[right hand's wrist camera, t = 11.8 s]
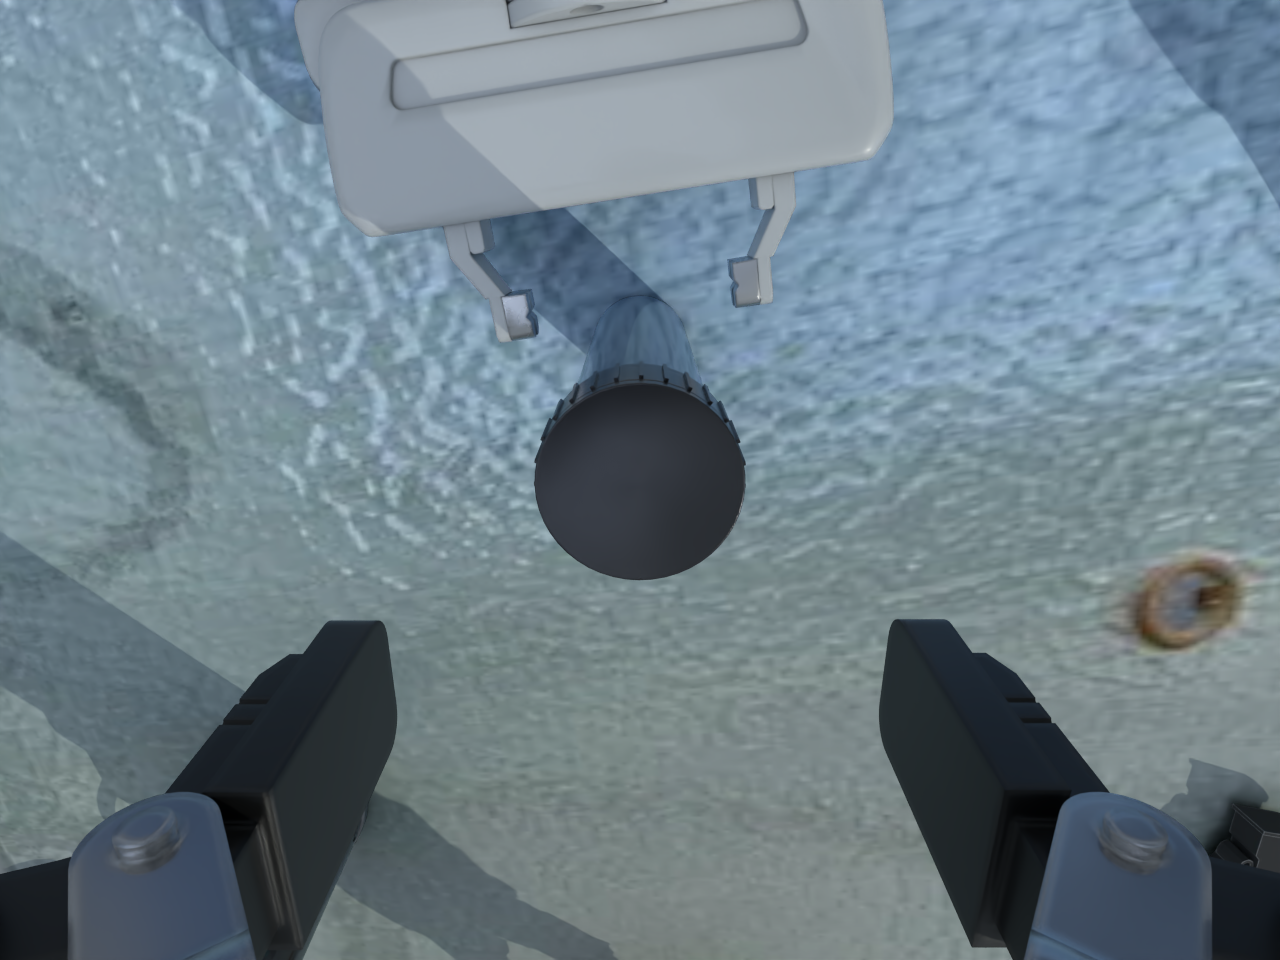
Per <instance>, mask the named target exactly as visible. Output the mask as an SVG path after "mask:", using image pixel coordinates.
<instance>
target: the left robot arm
mask: <svg viewBox="0 0 1280 960" xmlns="http://www.w3.org/2000/svg"><path fill="white" fill-rule="evenodd" d="M294 20H295V27H296V31H297V35H298V39H299V42H300V46H301V50H302V54H303V58H304V61H305V65H306V69H307V71H308V73H309V76H310V78H311V80H312V82H313V83H314V85H315V86H316V88H317V89H318V90H319V91H320V97H321V106H322V115H323V123H324V131H325V138H326V145H327V151H328V157H329V162H330V168H331V173H332V178H333V183H334V188H335V192H336V197H337V201H338V204H339V207H340V210H341V212H342V214H343V215H344V216H345V218H347V219H348V220H349V221H350V222H351V223H352V224H353V225H354V226H355V227H357V228H358V229H359V230H360V231H361V232H362V233H364V234H365V235H366V236H369V237H379V236H387V235H393V234H400V233H406V232H412V231H419V230H425V229H432V228H438V227H443V228H444V232H445V237H446V241H447V246H448V250H449V255H450V259H451V260H452V261H453V262H454V263H455V264H456V265H457V267H458V268H459V269H460V270H461V271H462V272H463V274H464V275H465V276H466V277H467V278H468V279H469V281H470V282H471V283H472V284H473V285H474V286H475V288H476V289H477V290H478V291H479V292H480V293H481V294H482V296H483V297H484V298H485V299H489V302H490V307H491V312H492V316H493V321H494V326H495V330H496V335H497V338H498V340H499V342H500V343H502V342H510V341H516V340H522V339H528V338H534V337H536V335H537V334H538V333H539V326H538V319H537V316H536V315H535V314H534V312H533V311H532V310H533V308H534V305H535V304H534V298H533V293H532V289H527V290H519V291H512V290H511V288H510V287H509V286H508V285H507V283H506V282H505V281H504V280H503V278H502V277H501V276H500V275H499V273H498V272H497V271H496V270H495V268H494V267H493V266H492V265H491V263H490V262H489V261H488V260H487V258H486V257H485V256H484V255H483V252H486V251H489V250H492V249H493V248H494V247H495V243H494V238H493V233H492V228H491V223H490V219H493V218H499V217H506V216H512V215H518V214H525V213H531V212H538V211H544V210H551V209H557V208H563V207H570V206H576V205H583V204H589V203H595V202H602V201H608V200H615V199H621V198H628V197H634V196H640V195H647V194H653V193H660V192H666V191H673V190H679V189H685V188H692V187H698V186H705V185H711V184H718V183H724V182H730V181H737V180H743V179H748V180H749V189H750V199H751V207H752V208H754V209H759V210H765V209H766V210H765V213H764V215H763V218H762V220H761V222H760V225H759V227H758V230H757V232H756V234H755V237H754V239H753V242H752V244H751V246H750V249H749V251H748V254H747V255H748V256H745V257H739V258H733V259H727V261H728V271H729V276H730V278H731V279H732V280H733V283H732V285H731V287H730V290H731V298H732V303H733V305H734V306H735V308H738V307H746V306H754V305H760V304H768V303H772V301H773V287H772V275H771V263H770V257H771V256H773V255H774V253H775V251H776V249H777V247H778V244H779V242H780V240H781V238H782V235H783V233H784V231H785V229H786V227H787V224H788V222H789V220H790V218H791V216H792V213H793V211H794V209H795V207H796V198H795V183H794V172H798V171H805V170H811V169H817V168H824V167H830V166H837V165H843V164H849V163H856V162H862V161H866V160H869V159H871V158H873V157H874V156H875V155H876V153H877V152H878V150H879V149H880V147H881V146H882V144H883V143H884V141H885V140H886V138H887V136H888V134H889V133H890V131H891V128H892V125H893V118H894V103H893V82H892V69H891V58H890V49H889V40H888V32H887V25H886V17H885V11H884V6H883V0H298V1H297V3H296V5H295V10H294Z"/></svg>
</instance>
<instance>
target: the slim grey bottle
mask: <svg viewBox="0 0 1280 960" xmlns="http://www.w3.org/2000/svg"><path fill="white" fill-rule="evenodd" d="M639 361H643V364H655V365H659V366H662V365H663V364H667V367H668V368H671V369H674V370H677V371H679V372H681V373H683V374H684V372H685V371H686V372H688V373H689V376H690V377H691V378H692V379H694V380H695V381H697V382H698V383H700V384H701V385H702V386H703V384H702V381H701V378H700V375H699V372H698V369H697V366H696V363H695V359H694V356H693V353H692V350H691V347H690V344H689V341H688V338H687V335H686V332H685V329H684V326H683V324H682V322H681V320H680V318H679V316H678V315H677V314H676V312H675V311H674V310H673V309H672V308H671V307H670V306H669V305H667V304H666V303H664V302H663V301H661V300H659V299H656V298H653V297H649V296H631V297H627V298H624V299H621V300H619V301H617V302H616V303H614V304H613V305H611V306H610V307H609V308H608V309H607V310H606V311H605V312H604V313H603V315H602V316H601V318H600V320H599V322H598V324H597V326H596V329H595V332H594V335H593V338H592V342H591V345H590V348H589V351H588V354H587V357H586V360H585V363H584V366H583V369H582V372H581V375H580V378H579V381H578V384H580V383H581V382H583V381H585V380H586V379H588V378H589V377H591V376H592V375H593V372H594V371H596V370H597V371H598V373H599V372H601V371H603V370H606V369H609V368H612V367H615V365H616V364H617V363H620V365H626V364H639Z"/></svg>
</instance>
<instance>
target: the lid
mask: <svg viewBox="0 0 1280 960" xmlns="http://www.w3.org/2000/svg"><path fill="white" fill-rule="evenodd" d="M541 441H542V443H541V445H540V448H539V450H538V453H537V455H536V458H535V463H536V469H535V481H534V486H535V493H536V500H537V504H538V508H539V511H540V514H541V516H542V519H543V521H544V523H545V525H546V527H547V528H548V530H549V532H550V533H551V535H552V536H553V537H554V539H555V540H556V541H557V543H558V544H559V545H560V546H561V547H562V548H563V549H564V550H565V551H566V552H567V553H568V554H569V555H571V556H572V557H573V558H575V559H576V560H577V561H579V562H580V563H582V564H584V565H585V566H587V567H588V568H591V569H593V570H595V571H597V572H600V573H602V574H606V575H609V576H612V577H617V578H622V579H630V580H651V579H658V578H664V577H668V576H671V575H675V574H678V573H680V572H682V571H685V570H687V569H689V568H691V567H693V566H695V565H696V564H698V563H700V562H701V561H703V560H704V559H705V558H707V557H708V556H709V555H711V554H712V553H713V552H714V551H715V550H716V549H717V548H718V547H719V546H720V545H721V544H722V543H723V541H724V540H725V539H726V537H727V536H728V535H729V533H730V532H731V530H732V528H733V527H734V525H735V523H736V521H737V518H738V516H739V514H740V511H741V507H742V504H743V500H744V493H745V487H746V484H745V470H744V465H746V463H745V460H744V457H743V454H742V452H741V449H740V447H739V444H738V443H740V440H739V437H738V435H737V432H736V430H735V427H734V425H733V422H732V420H730V421H729V419H728V416H727V413H726V411H725V408H724V406H723V403H722V402H721V401H719V402H718V401H717V400H716V399H715V398H714V397H713V395H712V394H711V393H710V392H709V389H708V386H707V385H705V384H704V385H703V386H702V385H701V384H700V383H698V382H697V381H695V380H694V379H692V378H691V377H690V376H689V373H688V372H686V371H685V372H684V374H683V373H681V372H679V371H677V370H674V369H671V368H668V367H667V364H663V365H662V366H659V365H655V364H643V361H639V364H626V365H620V363H617V364H616V365H615V367H612V368H609V369H606V370H603V371H601V372H599V373H598V371H597V370H596V371H594V372H593V375H592V376H591V377H589V378H588V379H586V380H585V381H583V382H581V383H580V384H578V383H576V384H575V385H574V387H573V390H572V391H571V392H570V393H569V394H568V395H567V397H566V398H565V399H564V400H562V399H560V401H559V402H558V405H557V407H556V410H555V412H554V415H553V418H552V419H551V418H549V420H548V422H547V425H546V427H545V430H544V432H543V435H542V437H541Z"/></svg>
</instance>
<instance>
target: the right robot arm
mask: <svg viewBox="0 0 1280 960" xmlns="http://www.w3.org/2000/svg"><path fill="white" fill-rule="evenodd" d="M879 724H880V732H881V738H882V742H883V746H884V749H885V751H886V754H887V756H888V758H889V760H890V763H891V765H892V767H893V769H894V772H895V774H896V776H897V778H898V781H899V783H900V785H901V788H902V790H903V792H904V794H905V797H906V799H907V801H908V803H909V806H910V808H911V810H912V812H913V815H914V817H915V819H916V822H917V824H918V826H919V828H920V831H921V833H922V835H923V837H924V840H925V842H926V844H927V846H928V849H929V851H930V853H931V856H932V858H933V860H934V862H935V865H936V867H937V869H938V871H939V874H940V876H941V878H942V880H943V883H944V885H945V887H946V890H947V892H948V894H949V896H950V899H951V901H952V903H953V905H954V908H955V910H956V912H957V914H958V917H959V919H960V921H961V924H962V926H963V928H964V930H965V933H966V935H967V937H968V939H969V942H970V944H971V946H972V947H1007V949H1008V951H1009V953H1010V955H1011V957H1012V959H1013V960H1280V873H1277V872H1273V871H1269V870H1264V869H1260V868H1256V867H1252V866H1247V865H1243V864H1239V863H1235V862H1230V861H1226V860H1222V859H1218V858H1214V857H1210V856H1208V855H1207V852H1206V851H1205V849H1204V848H1203V846H1202V845H1201V843H1200V842H1199V841H1198V840H1197V839H1196V837H1195V836H1194V835H1193V834H1192V833H1191V832H1190V831H1188V830H1187V829H1186V828H1185V827H1184V826H1183V825H1181V824H1180V823H1179V822H1177V821H1176V820H1175V819H1173V818H1172V817H1170V816H1169V815H1167V814H1165V813H1164V812H1162V811H1160V810H1158V809H1156V808H1154V807H1152V806H1151V805H1148V804H1146V803H1143V802H1141V801H1139V800H1136V799H1133V798H1130V797H1126V796H1123V795H1118V794H1113V793H1110V792H1109V791H1108V790H1107V788H1106V787H1105V786H1104V785H1103V783H1102V782H1101V781H1100V780H1099V778H1098V777H1097V776H1096V774H1095V773H1094V772H1093V771H1092V769H1091V768H1090V767H1089V766H1088V764H1087V763H1086V762H1085V760H1084V759H1083V758H1082V757H1081V755H1080V754H1079V753H1078V752H1077V750H1076V749H1075V748H1074V746H1073V745H1072V744H1071V743H1070V741H1069V740H1068V739H1067V738H1066V736H1065V735H1064V734H1063V732H1062V731H1061V730H1060V729H1059V727H1058V726H1057V725H1056V724H1055V723H1052V722H1051V717H1050V716H1049V715H1048V713H1047V712H1046V711H1045V710H1044V708H1043V707H1042V706H1041V704H1040V703H1036V701H1035V697H1034V696H1033V694H1032V693H1031V692H1030V690H1029V689H1028V688H1027V687H1026V685H1025V684H1024V683H1023V682H1022V680H1021V679H1020V678H1019V676H1018V675H1017V674H1016V673H1015V672H1013V671H1012V670H1010V669H1009V668H1007V667H1006V666H1004V665H1003V664H1001V663H1000V662H998V661H997V660H996V659H994V658H993V657H991V656H990V655H988V654H987V653H972V652H971V650H970V649H969V648H968V646H967V645H966V644H965V642H964V641H963V639H962V638H961V637H960V635H959V634H958V632H957V631H956V630H955V628H954V627H953V626H952V624H951V623H950V622H949V621H948V620H945V619H897V620H894V621H893V623H892V624H891V627H890V630H889V636H888V643H887V651H886V659H885V666H884V674H883V682H882V689H881V697H880V705H879ZM396 727H397V705H396V698H395V690H394V682H393V675H392V667H391V660H390V652H389V645H388V637H387V632H386V628H385V626H384V624H383V623H382V622H381V621H328V622H327V623H326V624H325V625H324V626H323V628H322V629H321V630H320V632H319V633H318V634H317V636H316V637H315V638H314V640H313V641H312V643H311V644H310V645H309V647H308V648H307V649H306V651H305V652H304V653H303V654H289V655H288V656H286V657H285V658H283V659H282V660H280V661H279V662H277V663H276V664H275V665H273V666H272V667H270V668H269V669H267V670H266V671H264V672H263V673H261V674H260V675H259V676H258V677H257V678H256V679H255V681H254V682H253V683H252V684H251V686H250V687H249V688H248V689H247V691H246V692H245V693H244V695H243V696H242V697H241V698H240V703H239V704H236V705H235V706H234V707H233V708H232V710H231V711H230V712H229V713H228V715H227V716H226V717H225V718H224V722H223V725H219V726H218V727H217V729H216V730H215V731H214V732H213V734H212V735H211V736H210V737H209V739H208V740H207V741H206V742H205V744H204V745H203V746H202V747H201V749H200V750H199V751H198V753H197V754H196V755H195V756H194V758H193V759H192V760H191V761H190V763H189V764H188V765H187V766H186V768H185V769H184V770H183V771H182V773H181V774H180V775H179V776H178V778H177V779H176V780H175V781H174V783H173V784H172V785H171V787H170V788H169V789H168V790H167V792H166V793H165V794H162V795H157V796H154V797H150V798H147V799H144V800H141V801H139V802H137V803H134V804H132V805H129V806H128V807H126V808H124V809H122V810H120V811H118V812H116V813H115V814H113V815H111V816H110V817H108V818H107V819H105V820H104V821H103V822H101V823H100V824H99V825H97V826H96V827H95V828H94V829H93V830H92V831H90V832H89V833H88V834H87V835H86V836H85V837H84V839H83V840H82V841H81V842H80V843H79V845H78V846H77V848H76V849H75V851H74V852H73V855H72V857H69V858H65V859H62V860H58V861H54V862H50V863H46V864H41V865H37V866H33V867H29V868H24V869H20V870H16V871H12V872H7V873H3V874H0V960H303V958H304V955H305V953H306V951H307V949H308V946H309V944H310V942H311V940H312V937H313V935H314V933H315V931H316V928H317V926H318V924H319V922H320V919H321V917H322V915H323V912H324V910H325V908H326V906H327V903H328V901H329V899H330V897H331V894H332V892H333V890H334V888H335V885H336V883H337V881H338V879H339V876H340V874H341V872H342V870H343V868H344V865H345V863H346V861H347V858H348V856H349V854H350V852H351V849H352V847H353V845H354V844H355V842H356V841H357V839H358V837H359V835H360V833H361V831H362V828H363V826H364V824H365V821H366V817H367V812H368V802H369V800H370V798H371V795H372V793H373V791H374V789H375V786H376V784H377V782H378V780H379V777H380V775H381V773H382V771H383V769H384V766H385V764H386V762H387V760H388V757H389V755H390V753H391V750H392V747H393V744H394V740H395V734H396Z"/></svg>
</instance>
